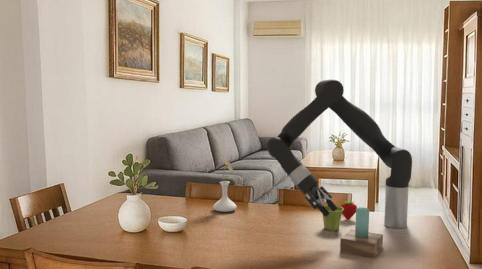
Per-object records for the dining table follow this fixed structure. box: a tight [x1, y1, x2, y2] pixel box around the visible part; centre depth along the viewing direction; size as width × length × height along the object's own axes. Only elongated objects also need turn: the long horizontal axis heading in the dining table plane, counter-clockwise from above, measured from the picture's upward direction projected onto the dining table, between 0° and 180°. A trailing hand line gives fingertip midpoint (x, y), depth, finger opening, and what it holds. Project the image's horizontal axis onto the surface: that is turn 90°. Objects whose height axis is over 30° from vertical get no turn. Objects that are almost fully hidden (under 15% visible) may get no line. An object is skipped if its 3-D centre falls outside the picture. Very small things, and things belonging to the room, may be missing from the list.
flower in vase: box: [212, 157, 238, 213], centre depth 221 cm, size 13×11×25 cm
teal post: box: [354, 207, 370, 238], centre depth 167 cm, size 5×5×10 cm
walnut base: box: [339, 229, 384, 259], centre depth 168 cm, size 12×12×5 cm
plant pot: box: [322, 205, 344, 232], centre depth 193 cm, size 9×9×9 cm
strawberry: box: [339, 200, 358, 221], centre depth 206 cm, size 6×8×10 cm
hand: (331, 212), depth 173 cm, fingers open, 8 cm apart
